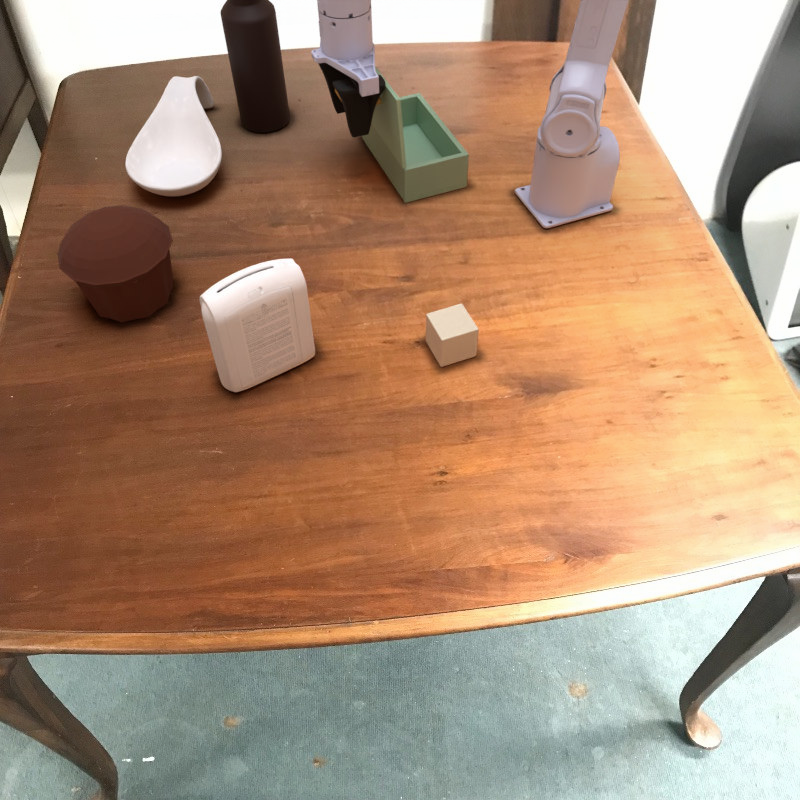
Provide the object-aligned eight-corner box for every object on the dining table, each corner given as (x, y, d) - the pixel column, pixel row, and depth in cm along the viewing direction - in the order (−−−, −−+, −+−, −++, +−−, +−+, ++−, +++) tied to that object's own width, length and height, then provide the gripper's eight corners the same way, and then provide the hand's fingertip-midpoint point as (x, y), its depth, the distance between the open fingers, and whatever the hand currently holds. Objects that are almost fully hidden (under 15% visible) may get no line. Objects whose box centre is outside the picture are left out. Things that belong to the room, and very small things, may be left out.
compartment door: (352, 36, 93) (316, 46, 92) (400, 98, 84) (361, 110, 83) (361, 103, 100) (328, 113, 100) (406, 167, 91) (370, 179, 90)
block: (460, 330, 81) (462, 302, 78) (476, 356, 79) (479, 329, 76) (425, 340, 80) (425, 313, 77) (440, 367, 78) (441, 340, 75)
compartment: (419, 124, 106) (419, 92, 102) (467, 187, 97) (469, 154, 93) (361, 138, 104) (360, 105, 100) (405, 203, 95) (404, 170, 91)
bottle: (300, 115, 108) (280, -38, 92) (269, 139, 104) (244, -16, 89) (261, 102, 110) (237, -50, 95) (230, 125, 107) (199, -29, 91)
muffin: (98, 346, 81) (65, 273, 73) (64, 285, 86) (30, 213, 79) (203, 301, 85) (182, 228, 77) (164, 246, 90) (140, 173, 83)
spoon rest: (222, 209, 95) (210, 158, 89) (126, 213, 95) (108, 162, 89) (238, 105, 110) (228, 56, 104) (154, 108, 109) (141, 59, 104)
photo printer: (302, 332, 82) (288, 239, 72) (323, 357, 79) (310, 264, 70) (213, 373, 78) (185, 281, 68) (232, 400, 76) (205, 310, 66)
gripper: (288, -15, 86) (302, 99, 96) (330, 44, 77) (340, 162, 88) (348, -26, 87) (355, 87, 98) (396, 31, 79) (398, 148, 89)
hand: (352, 122), depth 93 cm, fingers closed on compartment door, 5 cm apart
